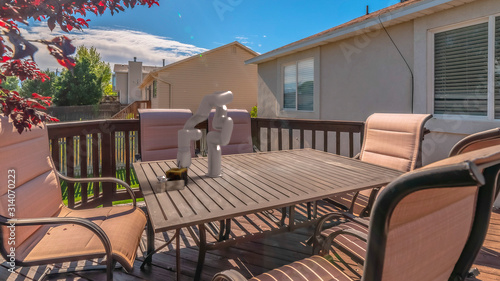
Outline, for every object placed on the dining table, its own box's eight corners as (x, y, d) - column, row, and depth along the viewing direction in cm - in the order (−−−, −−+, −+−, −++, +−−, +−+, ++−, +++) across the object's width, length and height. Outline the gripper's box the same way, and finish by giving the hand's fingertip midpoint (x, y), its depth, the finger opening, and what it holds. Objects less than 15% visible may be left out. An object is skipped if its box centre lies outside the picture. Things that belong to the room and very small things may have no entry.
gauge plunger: (168, 178, 172) (168, 172, 172) (174, 179, 170) (174, 173, 170) (155, 183, 162) (154, 176, 161) (161, 184, 160) (161, 177, 160)
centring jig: (163, 185, 177) (163, 177, 177) (185, 188, 171) (185, 180, 170) (148, 190, 165) (147, 182, 165) (170, 194, 159) (170, 185, 158)
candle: (181, 188, 171) (180, 172, 169) (165, 187, 173) (164, 171, 171) (188, 183, 180) (188, 168, 179) (173, 182, 183) (173, 167, 181)
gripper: (186, 147, 190) (187, 174, 192) (171, 150, 176) (172, 179, 178) (196, 148, 186) (196, 175, 189) (181, 151, 173) (182, 181, 175)
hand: (184, 177), depth 183 cm, fingers closed
